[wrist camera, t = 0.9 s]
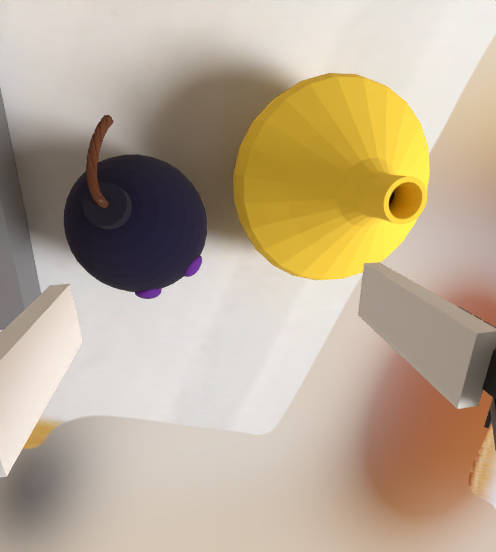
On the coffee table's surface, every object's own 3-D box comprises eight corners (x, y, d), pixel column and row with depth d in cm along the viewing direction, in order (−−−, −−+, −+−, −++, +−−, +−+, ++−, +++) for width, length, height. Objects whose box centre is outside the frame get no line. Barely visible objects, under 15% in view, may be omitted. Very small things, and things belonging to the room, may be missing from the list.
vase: (335, 275, 43) (439, 358, 25) (201, 227, 38) (214, 288, 20) (404, 135, 38) (591, 115, 21) (263, 58, 33) (350, -56, 15)
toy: (132, 283, 39) (100, 353, 25) (54, 174, 33) (-40, 186, 20) (222, 234, 39) (242, 277, 25) (158, 117, 33) (138, 89, 19)
